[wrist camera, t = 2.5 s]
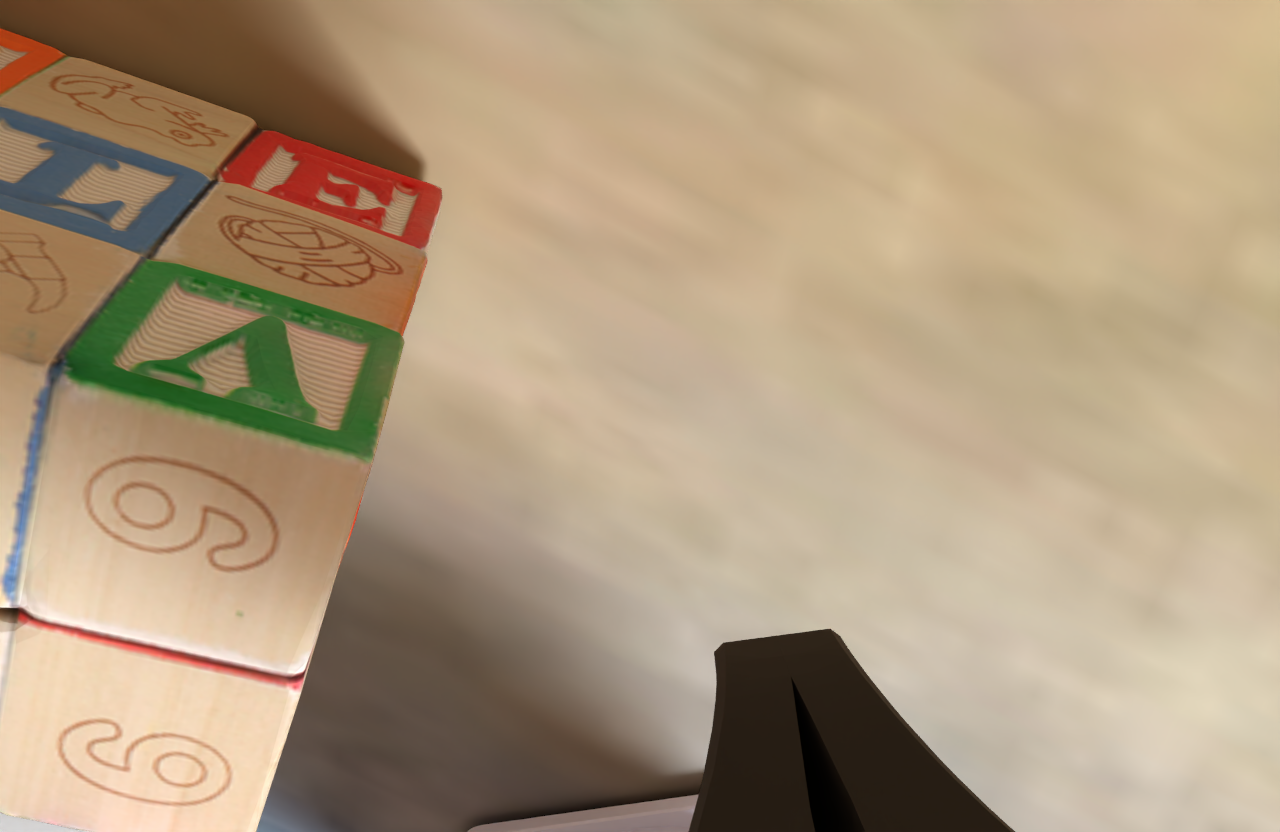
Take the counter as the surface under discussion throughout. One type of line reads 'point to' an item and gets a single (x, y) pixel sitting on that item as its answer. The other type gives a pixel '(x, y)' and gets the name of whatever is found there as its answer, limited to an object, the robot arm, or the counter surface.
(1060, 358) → the counter surface
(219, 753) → the stack of blocks
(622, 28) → the counter surface
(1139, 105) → the counter surface
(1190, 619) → the counter surface
